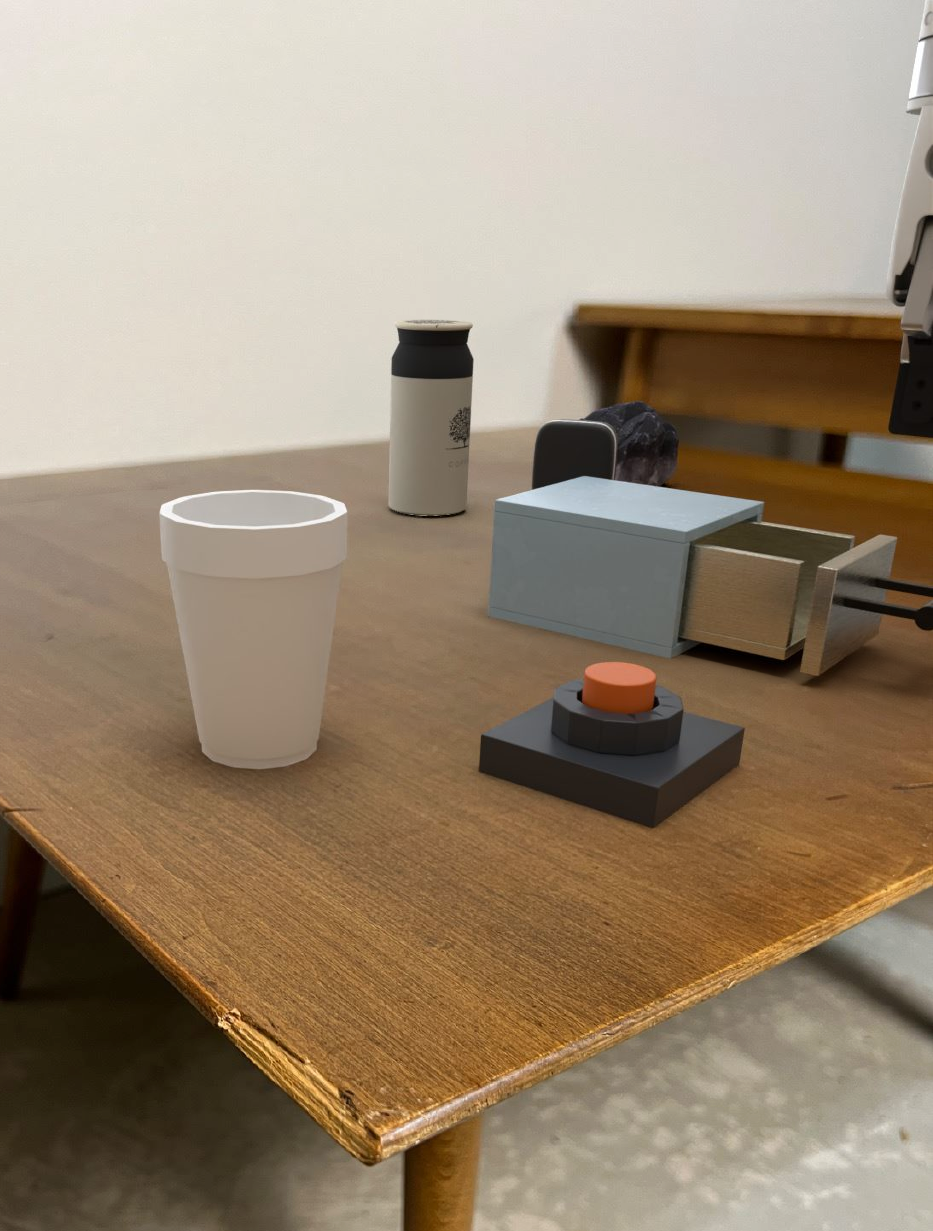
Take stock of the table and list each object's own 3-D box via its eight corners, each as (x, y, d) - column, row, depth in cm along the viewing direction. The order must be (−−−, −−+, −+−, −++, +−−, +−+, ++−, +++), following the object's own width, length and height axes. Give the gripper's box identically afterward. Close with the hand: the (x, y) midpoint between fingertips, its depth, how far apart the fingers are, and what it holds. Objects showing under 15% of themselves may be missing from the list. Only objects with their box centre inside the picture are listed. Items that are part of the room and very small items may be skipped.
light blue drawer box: (747, 618, 89) (764, 501, 85) (670, 659, 80) (686, 531, 76) (574, 582, 97) (583, 475, 94) (487, 616, 88) (494, 499, 85)
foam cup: (136, 754, 64) (119, 511, 59) (244, 703, 71) (238, 483, 66) (277, 797, 59) (273, 538, 54) (378, 739, 66) (383, 504, 61)
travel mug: (372, 508, 123) (375, 320, 115) (427, 498, 127) (433, 318, 120) (426, 521, 117) (433, 325, 110) (482, 510, 122) (492, 322, 115)
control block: (739, 765, 64) (750, 695, 62) (653, 829, 57) (662, 752, 55) (575, 719, 70) (581, 654, 68) (478, 772, 63) (482, 701, 61)
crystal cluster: (547, 476, 143) (547, 391, 139) (661, 468, 143) (665, 382, 138) (560, 508, 132) (560, 416, 127) (685, 500, 131) (690, 407, 126)
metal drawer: (967, 652, 79) (991, 550, 76) (914, 698, 71) (938, 586, 68) (695, 598, 90) (707, 507, 87) (622, 632, 82) (633, 534, 79)
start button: (665, 703, 62) (668, 671, 61) (632, 723, 59) (635, 690, 59) (603, 687, 64) (606, 656, 63) (568, 706, 61) (571, 673, 61)
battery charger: (610, 551, 107) (624, 419, 102) (603, 560, 104) (617, 425, 99) (533, 543, 109) (543, 414, 105) (524, 553, 106) (534, 420, 101)
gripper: (1030, 59, 56) (949, 457, 64) (1096, 87, 67) (1019, 427, 74) (868, 70, 60) (809, 442, 68) (953, 95, 71) (894, 415, 78)
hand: (919, 433), depth 71 cm, fingers closed
